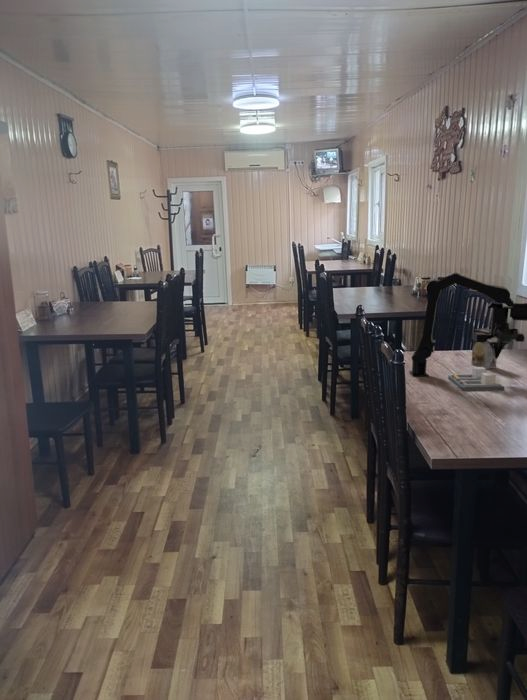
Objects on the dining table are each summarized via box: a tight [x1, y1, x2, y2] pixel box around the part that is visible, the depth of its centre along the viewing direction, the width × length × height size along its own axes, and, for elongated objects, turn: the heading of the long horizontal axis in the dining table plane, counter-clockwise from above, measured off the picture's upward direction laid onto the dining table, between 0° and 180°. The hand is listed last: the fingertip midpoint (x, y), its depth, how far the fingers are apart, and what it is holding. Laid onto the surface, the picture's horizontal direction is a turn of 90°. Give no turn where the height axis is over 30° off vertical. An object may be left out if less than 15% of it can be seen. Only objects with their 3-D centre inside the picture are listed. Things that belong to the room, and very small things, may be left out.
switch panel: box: [447, 373, 505, 392], centre depth 221 cm, size 16×16×2 cm
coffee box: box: [471, 327, 498, 370], centre depth 246 cm, size 9×6×16 cm
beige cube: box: [481, 372, 497, 384], centre depth 216 cm, size 4×4×4 cm
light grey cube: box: [471, 366, 487, 378], centre depth 225 cm, size 4×4×4 cm
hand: (496, 358), depth 224 cm, fingers closed
